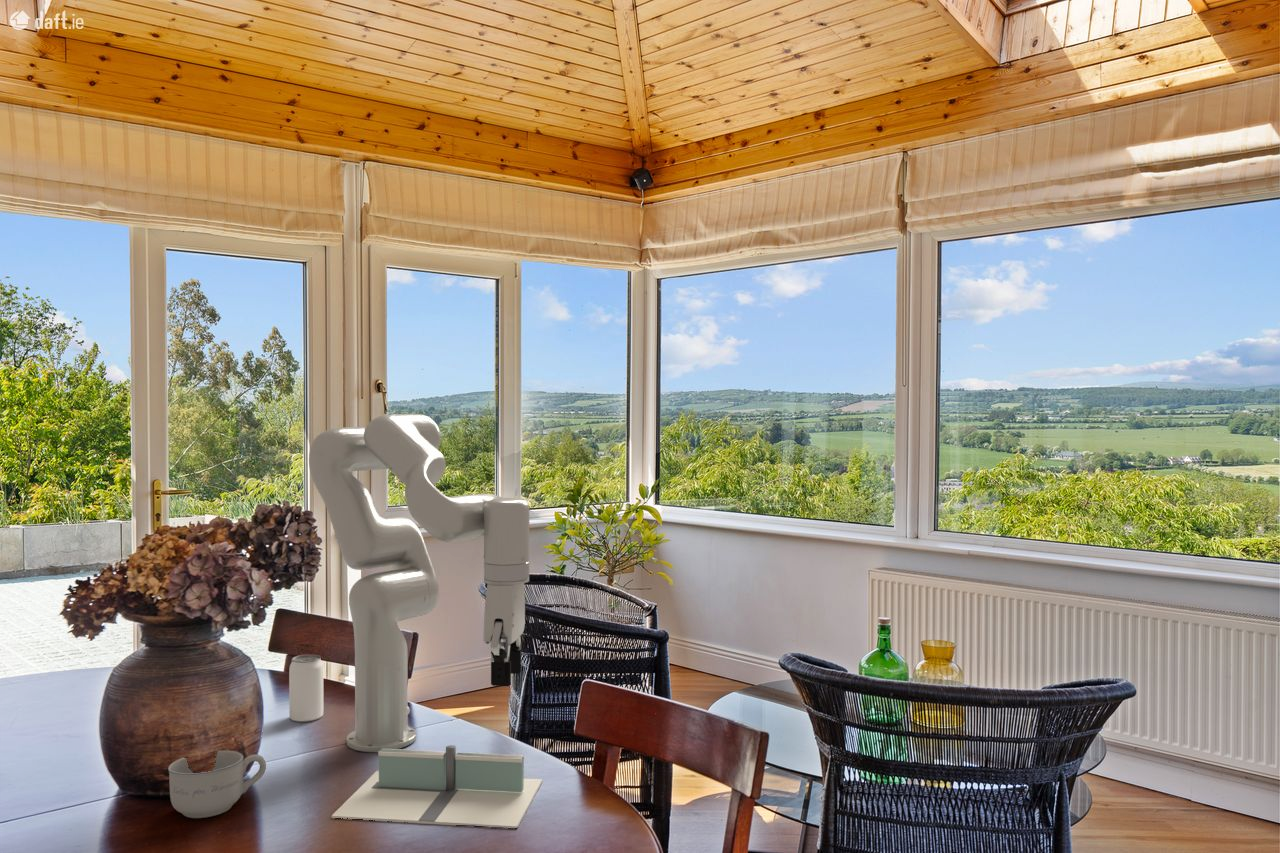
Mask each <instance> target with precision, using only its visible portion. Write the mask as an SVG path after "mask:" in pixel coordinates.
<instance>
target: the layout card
mask: <svg viewBox="0 0 1280 853" xmlns="http://www.w3.org/2000/svg"><path fill="white" fill-rule="evenodd" d="M543 780H544V779H541V778H540V779H539V778H524V789H523V791H522V792H507V791H488V790H470V789H455V790H453V791H448V790H446V788H445V789H444V790H435V789H417V788H398V787H379V770H376V771H375V772H374V773H372V775H370V777H369V778H368V779H367V780H366V781H365V782H364V783H363V784H362V785H361V786H360V787H359V788H358V789H357V790H356V791H355V792H353V794H352V795H351V796H349V798H348V799H347V800H345V802H344V803H343V804H341V806H339V808H338V809H336V811H335V812H333V813H332V815H331V819H335V818H341V819H340V820H352V819H363V820H362V821H369V820H373V821H374V820H375V822H387V821H390V822H391V821H392V822H391V823H404V822H406V823H407V822H408V823H407V824H424V825H425V824H426V825H442V826H456V825H479V826H495V827H497V826H498V827H507V828H506V829H508V828H517V827H518V828H519V826H520V824H521V823H520V822H522V821H523V818H524V817H525V815H526V813H527V812H528V810H529V808H530V806H531V805H532V803H533V800H534V798H535V797H536V795H537V792H538V791H539V790H540V787H541V785H542V783H543ZM527 809H528V810H527ZM526 811H527V812H526ZM342 818H343V819H342ZM347 818H348V819H347ZM521 820H522V821H521ZM518 828H517V829H518Z"/></svg>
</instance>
